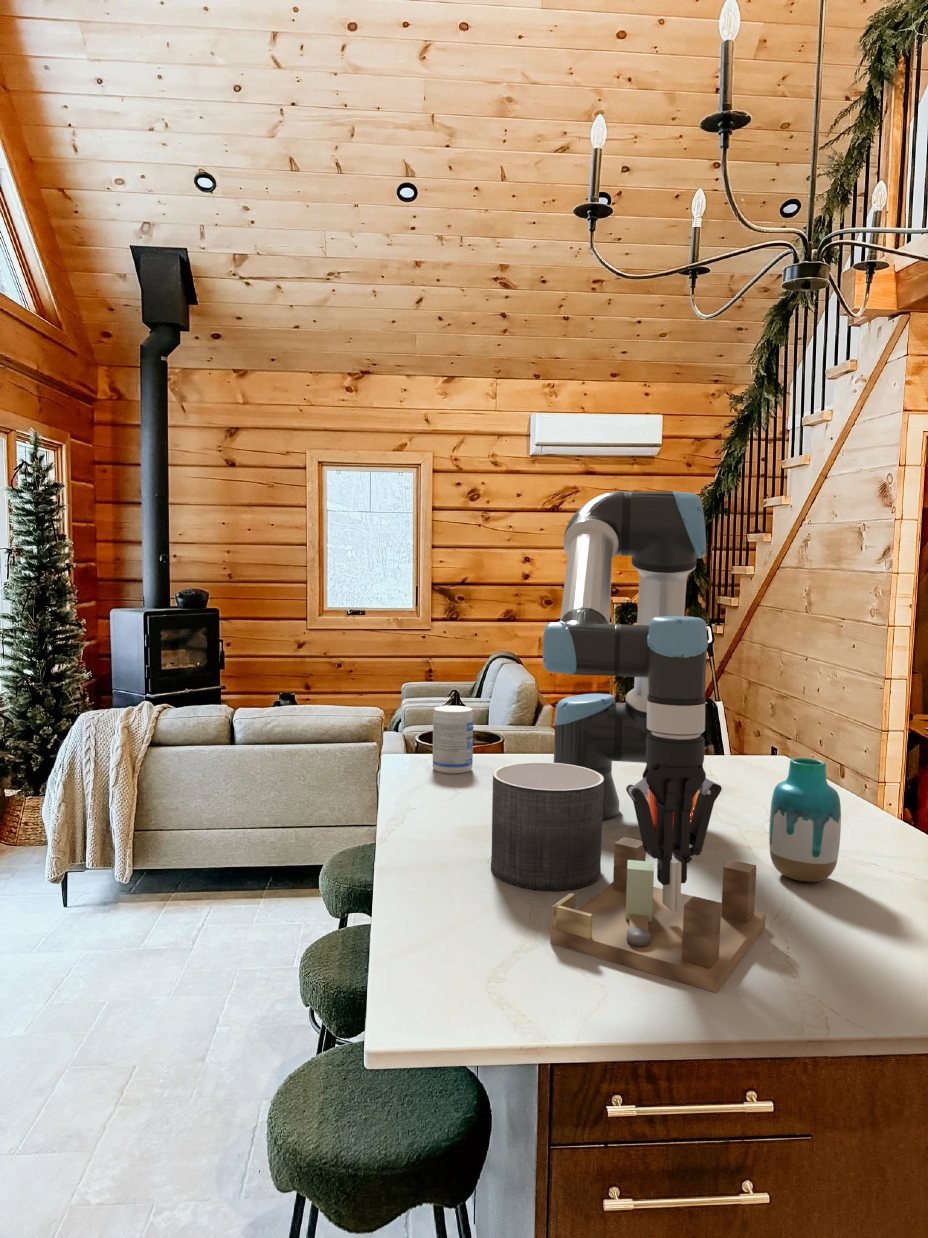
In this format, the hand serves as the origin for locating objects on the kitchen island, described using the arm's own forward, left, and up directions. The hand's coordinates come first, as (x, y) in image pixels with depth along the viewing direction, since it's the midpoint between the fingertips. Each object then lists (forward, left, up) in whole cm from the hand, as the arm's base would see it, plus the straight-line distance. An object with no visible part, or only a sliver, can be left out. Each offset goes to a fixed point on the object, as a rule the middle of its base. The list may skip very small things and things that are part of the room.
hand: (671, 906), depth 115 cm
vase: (+10, +34, -5) cm, 35 cm away
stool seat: (-1, 0, -4) cm, 4 cm away
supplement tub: (-74, +57, -5) cm, 94 cm away
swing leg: (-3, -4, -2) cm, 6 cm away
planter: (-25, +12, -5) cm, 28 cm away
